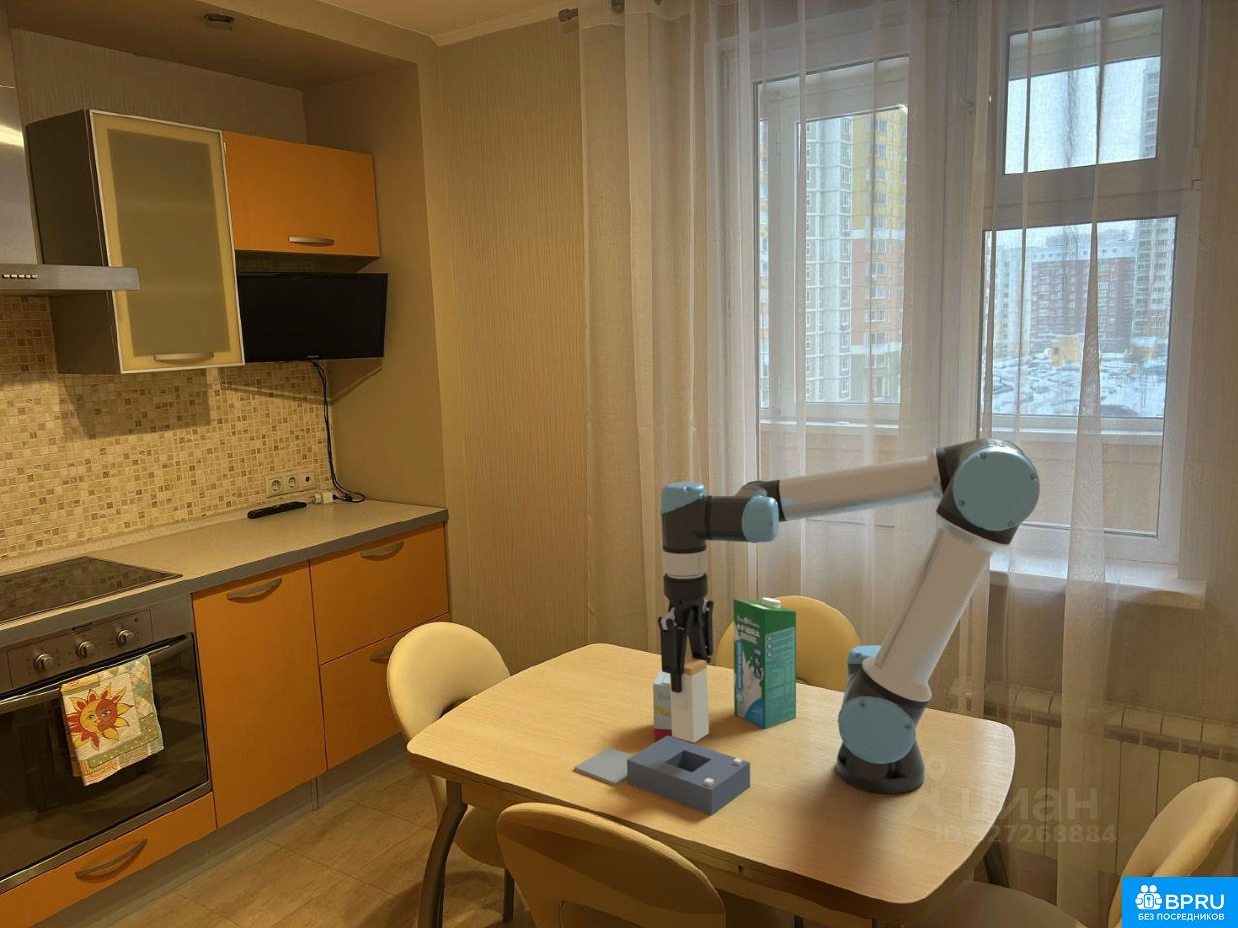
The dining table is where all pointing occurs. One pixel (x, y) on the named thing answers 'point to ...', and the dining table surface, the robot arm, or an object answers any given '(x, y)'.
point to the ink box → (662, 706)
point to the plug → (692, 703)
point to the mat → (606, 766)
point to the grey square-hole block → (689, 774)
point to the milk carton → (764, 662)
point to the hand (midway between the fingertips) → (689, 702)
